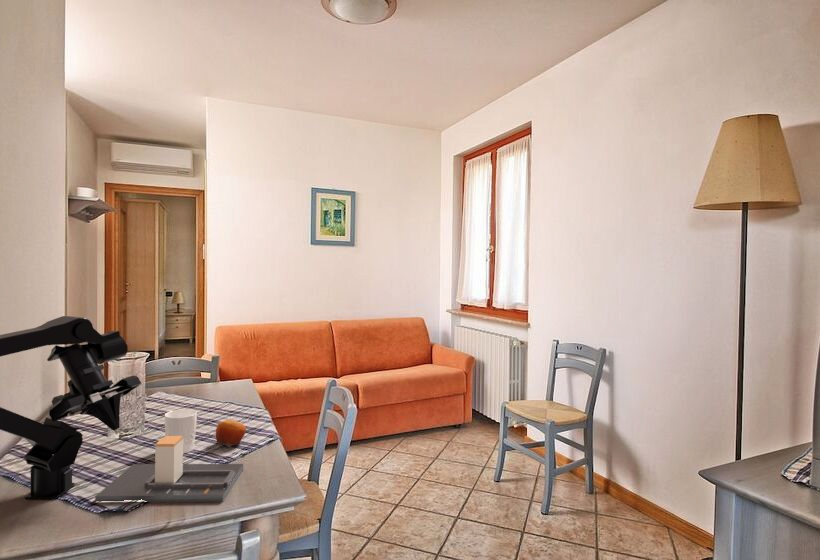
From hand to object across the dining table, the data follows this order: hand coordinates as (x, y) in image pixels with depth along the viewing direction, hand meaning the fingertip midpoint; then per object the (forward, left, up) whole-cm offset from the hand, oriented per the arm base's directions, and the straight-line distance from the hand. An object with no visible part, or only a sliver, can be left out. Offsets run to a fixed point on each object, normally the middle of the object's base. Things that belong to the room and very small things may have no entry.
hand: (116, 429), depth 106 cm
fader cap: (+11, 0, -11) cm, 16 cm away
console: (+12, +1, -13) cm, 18 cm away
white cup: (+5, +22, -13) cm, 26 cm away
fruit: (+17, +26, -14) cm, 34 cm away
